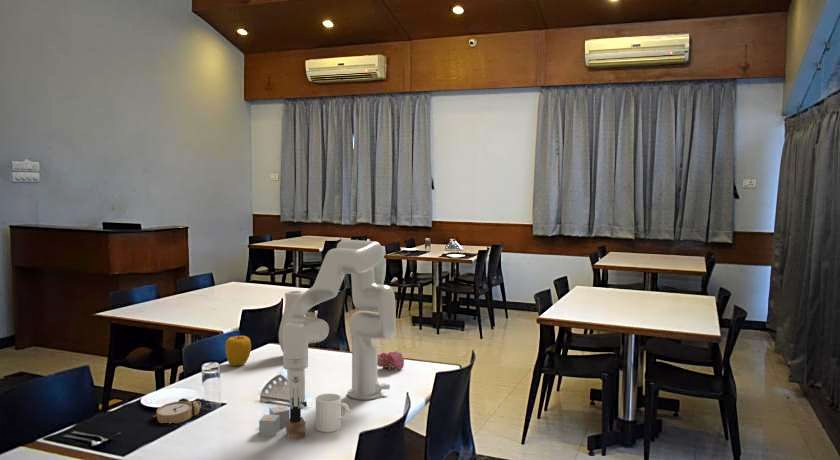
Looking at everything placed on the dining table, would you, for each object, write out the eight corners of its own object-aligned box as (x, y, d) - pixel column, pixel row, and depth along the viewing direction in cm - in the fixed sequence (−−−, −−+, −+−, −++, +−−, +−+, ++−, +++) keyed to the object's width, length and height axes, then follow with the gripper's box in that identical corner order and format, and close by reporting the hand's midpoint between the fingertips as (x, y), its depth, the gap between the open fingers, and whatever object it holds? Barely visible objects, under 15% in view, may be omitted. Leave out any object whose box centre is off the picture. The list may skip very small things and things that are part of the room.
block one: (279, 430, 193) (279, 414, 193) (275, 436, 188) (275, 420, 188) (264, 429, 193) (264, 414, 193) (259, 436, 188) (259, 420, 188)
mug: (342, 436, 189) (342, 405, 188) (310, 429, 194) (310, 399, 193) (355, 427, 196) (356, 397, 195) (324, 420, 201) (324, 392, 200)
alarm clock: (148, 411, 200) (187, 391, 212) (151, 424, 201) (190, 404, 213) (168, 418, 194) (207, 398, 206) (171, 432, 195) (210, 411, 207)
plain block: (302, 432, 192) (302, 416, 191) (305, 438, 187) (305, 422, 187) (286, 434, 190) (286, 418, 189) (289, 440, 185) (289, 424, 185)
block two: (284, 420, 201) (284, 405, 201) (289, 425, 197) (289, 409, 197) (269, 423, 199) (269, 407, 198) (274, 428, 195) (274, 412, 194)
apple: (246, 368, 258) (246, 339, 257) (221, 368, 258) (221, 338, 257) (254, 361, 269) (254, 332, 268) (230, 361, 269) (229, 332, 268)
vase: (273, 360, 271) (273, 294, 269) (285, 352, 284) (285, 289, 282) (303, 362, 268) (303, 295, 266) (313, 354, 282) (313, 290, 280)
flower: (381, 374, 264) (390, 353, 267) (399, 380, 258) (408, 358, 262) (368, 364, 255) (378, 342, 259) (386, 370, 250) (396, 348, 254)
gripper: (308, 368, 180) (308, 428, 181) (307, 355, 195) (306, 411, 196) (283, 369, 179) (282, 430, 180) (283, 356, 193) (283, 412, 194)
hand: (295, 420), depth 188 cm, fingers closed
